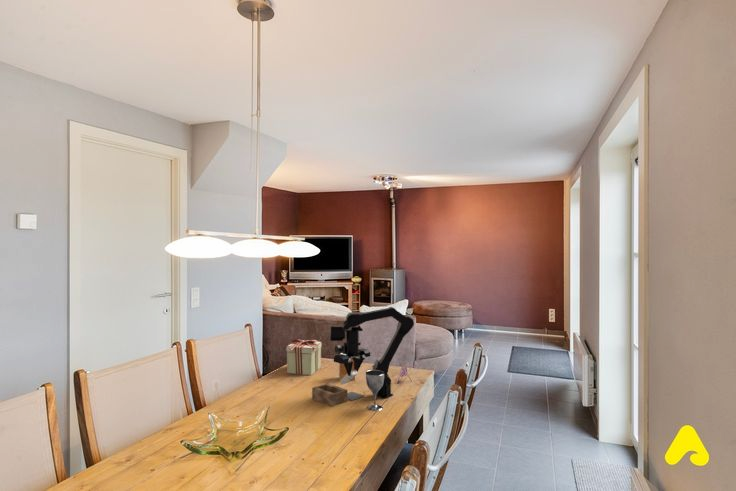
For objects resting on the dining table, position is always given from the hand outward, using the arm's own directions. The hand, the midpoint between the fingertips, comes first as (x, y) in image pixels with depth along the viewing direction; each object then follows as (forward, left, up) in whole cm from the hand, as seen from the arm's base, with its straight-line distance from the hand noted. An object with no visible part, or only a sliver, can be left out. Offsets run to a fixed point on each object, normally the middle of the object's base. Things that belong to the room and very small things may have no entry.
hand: (352, 374), depth 194 cm
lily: (-3, -34, -10) cm, 36 cm away
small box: (+21, -17, -10) cm, 29 cm away
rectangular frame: (+4, +10, -10) cm, 15 cm away
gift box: (+47, -10, -10) cm, 49 cm away
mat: (0, 0, -10) cm, 10 cm away
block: (+2, 0, -3) cm, 3 cm away
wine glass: (-16, +3, -10) cm, 20 cm away
